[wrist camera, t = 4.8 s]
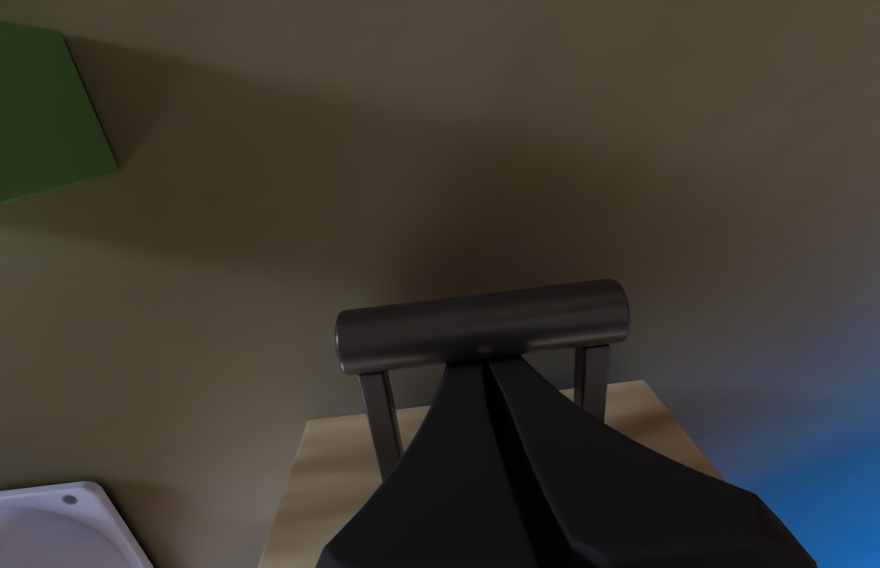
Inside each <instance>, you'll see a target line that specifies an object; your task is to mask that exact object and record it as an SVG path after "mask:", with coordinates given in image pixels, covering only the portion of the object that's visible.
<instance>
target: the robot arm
mask: <svg viewBox="0 0 880 568" xmlns="http://www.w3.org/2000/svg"><path fill="white" fill-rule="evenodd" d="M0 568H154V567H153V565H152V564H151V562H150V561H149V559H148V558H147V556H146V555H145V553H144V551H143V550H142V548H141V547H140V545H139V544H138V542H137V541H136V539H135V538H134V536H133V534H132V533H131V531H130V530H129V528H128V527H127V525H126V524H125V522H124V521H123V519H122V518H121V516H120V514H119V513H118V511H117V510H116V508H115V507H114V505H113V504H112V502H111V501H110V499H109V497H108V496H107V494H106V493H105V491H104V490H103V488H102V487H101V486H100V485H99V484H97V483H95V482H92V481H81V482H73V483H64V484H56V485H48V486H39V487H31V488H23V489H14V490H6V491H0ZM315 568H817V565H816V562H815V561H814V560H813V558H812V557H811V556H810V555H809V554H808V553H807V551H806V550H805V549H804V548H803V547H802V545H801V544H800V543H799V542H798V541H797V540H796V538H795V537H794V536H793V534H792V533H791V532H790V531H789V530H788V528H787V527H786V526H785V525H784V524H783V523H782V521H781V520H780V519H779V518H778V517H777V516H776V515H775V514H774V513H773V512H772V511H771V510H770V509H769V508H768V507H767V505H766V504H765V503H764V502H763V501H762V500H761V499H760V498H759V497H758V496H757V495H756V494H754V493H752V492H749V491H747V490H744V489H742V488H739V487H737V486H734V485H732V484H729V483H727V482H724V481H722V480H719V479H717V478H714V477H712V476H709V475H707V474H704V473H702V472H699V471H697V470H694V469H692V468H690V467H687V466H685V465H683V464H681V463H679V462H677V461H675V460H673V459H670V458H668V457H666V456H664V455H662V454H660V453H658V452H656V451H654V450H652V449H650V448H648V447H646V446H644V445H642V444H640V443H638V442H636V441H634V440H633V439H631V438H629V437H627V436H626V435H624V434H622V433H620V432H619V431H617V430H615V429H613V428H612V427H610V426H608V425H607V424H605V423H603V422H602V421H600V420H599V419H597V418H595V417H594V416H593V415H591V414H590V413H588V412H587V411H585V410H584V409H582V408H581V407H579V406H578V405H576V404H575V403H574V402H572V401H571V400H570V399H569V398H567V397H566V396H565V395H563V394H562V393H561V392H560V391H559V390H557V389H556V388H555V387H554V386H553V385H551V384H550V383H549V382H548V381H547V380H546V379H544V378H543V377H542V376H541V375H540V374H539V373H538V372H537V371H536V370H535V369H534V368H533V367H532V366H531V365H529V364H528V363H527V362H526V361H525V360H524V359H523V358H522V357H521V355H513V356H504V357H496V358H488V359H480V360H471V361H463V362H455V363H447V364H446V367H445V370H444V373H443V376H442V379H441V382H440V385H439V388H438V390H437V392H436V395H435V397H434V399H433V402H432V404H431V406H430V408H429V410H428V413H427V414H426V416H425V418H424V420H423V422H422V424H421V426H420V428H419V429H418V431H417V433H416V435H415V436H414V438H413V440H412V441H411V443H410V444H409V446H408V447H407V449H406V451H405V452H404V454H403V455H402V457H401V458H400V460H399V461H398V463H397V464H396V465H395V467H394V468H393V469H392V471H391V472H390V474H389V475H388V476H387V477H386V478H385V480H384V481H383V482H382V483H381V485H380V486H379V487H378V488H377V490H376V491H375V492H374V493H373V495H372V496H371V497H370V498H369V500H368V501H367V502H366V503H365V504H364V505H363V507H362V508H361V509H360V510H359V511H358V512H357V513H356V514H355V515H354V516H353V517H352V518H351V519H350V521H349V522H348V523H347V524H346V525H345V526H344V527H343V528H342V529H341V530H340V531H339V532H338V533H337V534H336V535H335V536H334V537H333V538H332V539H331V540H330V541H329V542H328V543H327V544H326V545H325V546H324V547H323V550H322V552H321V554H320V557H319V559H318V562H317V565H316V567H315Z"/></svg>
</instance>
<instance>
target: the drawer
mask: <svg viewBox="0 0 880 568" xmlns="http://www.w3.org/2000/svg"><path fill="white" fill-rule="evenodd" d="M630 322H631V319H630V309H629V304H628V300H627V297H626V294H625V292H624V290H623V288H622V286H621V285H620V284H619V283H618V282H617V281H616V280H613V279H600V280H592V281H584V282H575V283H567V284H559V285H550V286H542V287H534V288H525V289H517V290H509V291H500V292H492V293H484V294H475V295H467V296H459V297H450V298H442V299H434V300H425V301H417V302H409V303H401V304H392V305H384V306H376V307H367V308H359V309H351V310H343V311H341V312H340V313H339V314H338V316H337V320H336V325H335V345H336V352H337V357H338V361H339V364H340V367H341V369H342V371H343V372H344V373H345V374H347V375H355V374H358V382H359V386H360V390H361V394H362V398H363V403H364V407H365V411H366V413H364V414H355V415H347V416H339V417H330V418H322V419H314V420H308V421H307V424H306V427H305V430H304V433H303V436H302V439H301V442H300V445H299V448H298V451H297V454H296V457H295V460H294V463H293V466H292V469H291V472H290V475H289V477H288V480H287V483H286V486H285V489H284V492H283V495H282V498H281V501H280V504H279V507H278V510H277V513H276V516H275V519H274V522H273V525H272V528H271V531H270V534H269V537H268V540H267V543H266V546H265V549H264V552H263V555H262V557H261V560H260V563H259V566H258V568H315V567H316V565H317V562H318V559H319V557H320V554H321V552H322V550H323V547H324V546H325V545H326V544H327V543H328V542H329V541H330V540H331V539H332V538H333V537H334V536H335V535H336V534H337V533H338V532H339V531H340V530H341V529H342V528H343V527H344V526H345V525H346V524H347V523H348V522H349V521H350V519H351V518H352V517H353V516H354V515H355V514H356V513H357V512H358V511H359V510H360V509H361V508H362V507H363V505H364V504H365V503H366V502H367V501H368V500H369V498H370V497H371V496H372V495H373V493H374V492H375V491H376V490H377V488H378V487H379V486H380V485H381V483H382V482H383V481H384V480H385V478H386V477H387V476H388V475H389V474H390V472H391V471H392V469H393V468H394V467H395V465H396V464H397V463H398V461H399V460H400V458H401V457H402V455H403V454H404V452H405V451H406V449H407V447H408V446H409V444H410V443H411V441H412V440H413V438H414V436H415V435H416V433H417V431H418V429H419V428H420V426H421V424H422V422H423V420H424V418H425V416H426V414H427V413H428V410H429V408H430V406H431V405H430V406H422V407H413V408H405V409H397V410H395V405H394V400H393V395H392V390H391V385H390V380H389V375H388V370H396V369H405V368H413V367H421V366H430V365H438V364H446V363H455V362H463V361H471V360H480V359H488V358H496V357H504V356H513V355H521V354H529V353H538V352H546V351H554V350H563V349H571V348H576V350H575V378H574V388H572V389H563V390H559V391H560V392H561V393H562V394H563V395H565V396H566V397H567V398H569V399H570V400H571V401H572V402H574V403H575V404H576V405H578V406H579V407H581V408H582V409H584V410H585V411H587V412H588V413H590V414H591V415H593V416H594V417H595V418H597V419H599V420H600V421H602V422H603V423H605V424H607V425H608V426H610V427H612V428H613V429H615V430H617V431H619V432H620V433H622V434H624V435H626V436H627V437H629V438H631V439H633V440H634V441H636V442H638V443H640V444H642V445H644V446H646V447H648V448H650V449H652V450H654V451H656V452H658V453H660V454H662V455H664V456H666V457H668V458H670V459H673V460H675V461H677V462H679V463H681V464H683V465H685V466H687V467H690V468H692V469H694V470H697V471H699V472H702V473H704V474H707V475H709V476H712V477H714V478H717V479H719V480H722V481H724V480H723V478H722V477H721V476H720V475H719V473H718V472H717V471H716V470H715V468H714V467H713V466H712V465H711V463H710V462H709V461H708V459H707V458H706V457H705V456H704V454H703V453H702V452H701V451H700V449H699V448H698V447H697V446H696V444H695V443H694V442H693V441H692V439H691V438H690V437H689V436H688V434H687V433H686V432H685V431H684V429H683V428H682V427H681V426H680V424H679V423H678V422H677V421H676V419H675V418H674V417H673V416H672V414H671V413H670V412H669V411H668V409H667V408H666V407H665V406H664V404H663V403H662V402H661V401H660V399H659V398H658V397H657V396H656V394H655V393H654V392H653V390H652V389H651V388H650V387H649V385H648V384H647V383H646V382H645V380H638V381H630V382H622V383H613V384H607V382H608V369H609V356H610V345H609V344H613V343H620V342H622V341H624V340H625V339H626V338H627V336H628V334H629V331H630ZM724 482H725V481H724Z"/></svg>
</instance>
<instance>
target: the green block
mask: <svg viewBox="0 0 880 568" xmlns="http://www.w3.org/2000/svg"><path fill="white" fill-rule="evenodd" d="M118 173H119V168H118V166H117V164H116V161H115V159H114V157H113V154H112V152H111V149H110V147H109V145H108V142H107V140H106V138H105V135H104V133H103V131H102V128H101V126H100V124H99V121H98V119H97V117H96V114H95V112H94V110H93V107H92V105H91V103H90V100H89V98H88V96H87V93H86V91H85V89H84V86H83V84H82V81H81V79H80V77H79V74H78V72H77V70H76V67H75V65H74V63H73V60H72V58H71V56H70V53H69V51H68V49H67V46H66V44H65V42H64V39H63V37H62V35H61V33H60V32H59V31H56V30H51V29H45V28H39V27H34V26H28V25H23V24H17V23H12V22H6V21H1V20H0V204H4V203H8V202H12V201H15V200H19V199H23V198H27V197H31V196H35V195H38V194H42V193H46V192H50V191H54V190H58V189H61V188H65V187H69V186H73V185H77V184H81V183H84V182H88V181H92V180H96V179H100V178H104V177H107V176H111V175H115V174H118Z"/></svg>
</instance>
